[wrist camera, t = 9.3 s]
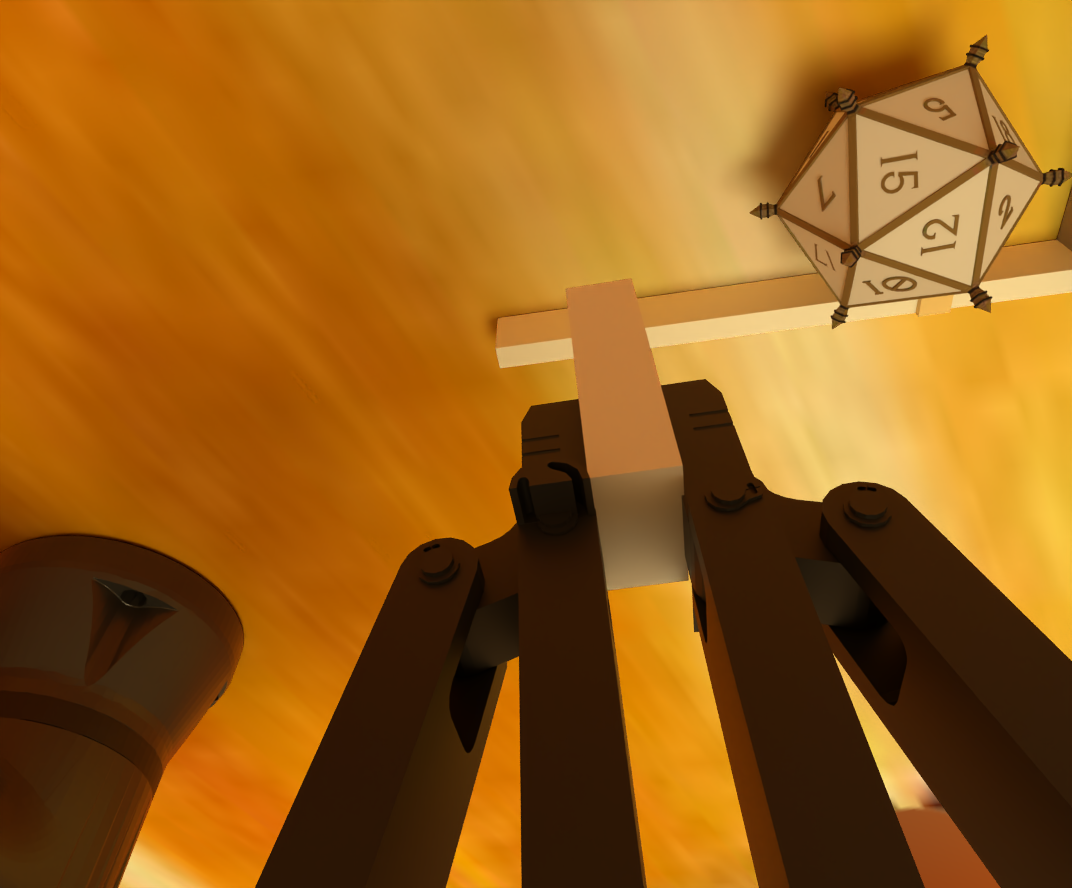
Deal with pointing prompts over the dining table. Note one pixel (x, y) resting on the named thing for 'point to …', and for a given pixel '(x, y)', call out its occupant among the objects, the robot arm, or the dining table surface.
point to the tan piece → (786, 305)
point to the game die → (911, 191)
